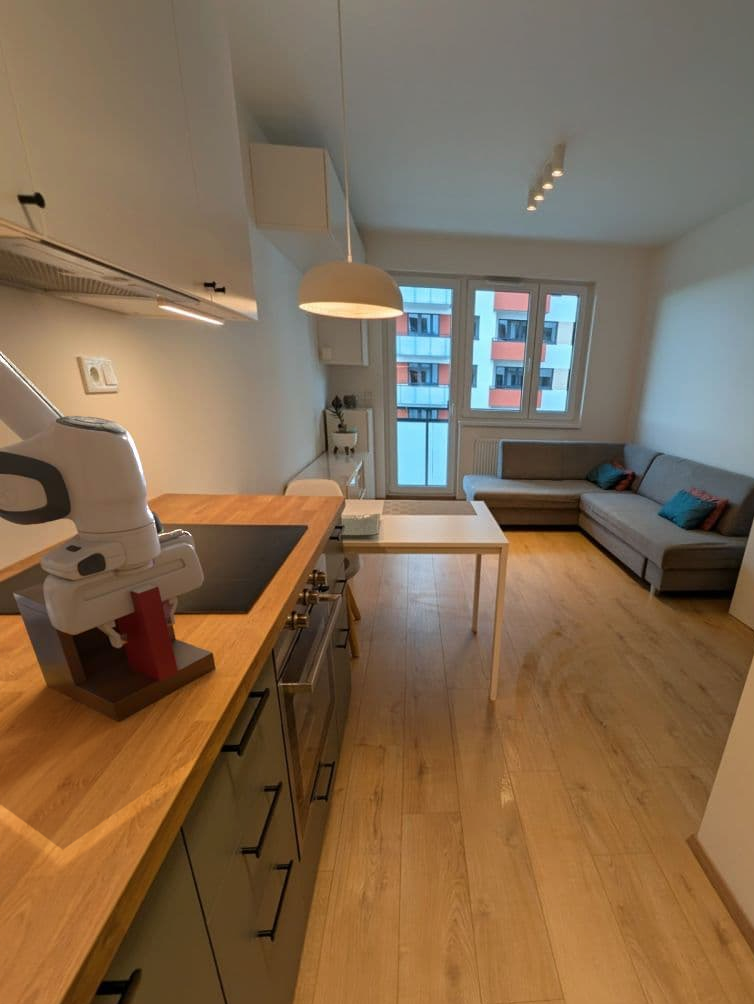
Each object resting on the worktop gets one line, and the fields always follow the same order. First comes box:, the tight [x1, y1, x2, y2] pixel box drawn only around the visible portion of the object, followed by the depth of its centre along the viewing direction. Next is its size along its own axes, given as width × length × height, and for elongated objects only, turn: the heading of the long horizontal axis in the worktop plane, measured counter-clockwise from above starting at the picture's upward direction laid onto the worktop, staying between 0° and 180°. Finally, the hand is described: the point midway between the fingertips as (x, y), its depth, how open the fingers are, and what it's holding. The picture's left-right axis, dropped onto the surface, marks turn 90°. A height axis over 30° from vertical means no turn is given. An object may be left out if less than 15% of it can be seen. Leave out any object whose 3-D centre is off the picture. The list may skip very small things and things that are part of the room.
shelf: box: [12, 582, 216, 723], centre depth 77 cm, size 18×16×16 cm
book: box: [117, 584, 178, 682], centre depth 74 cm, size 7×3×14 cm, turn 62°
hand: (145, 634), depth 74 cm, fingers open, 6 cm apart
